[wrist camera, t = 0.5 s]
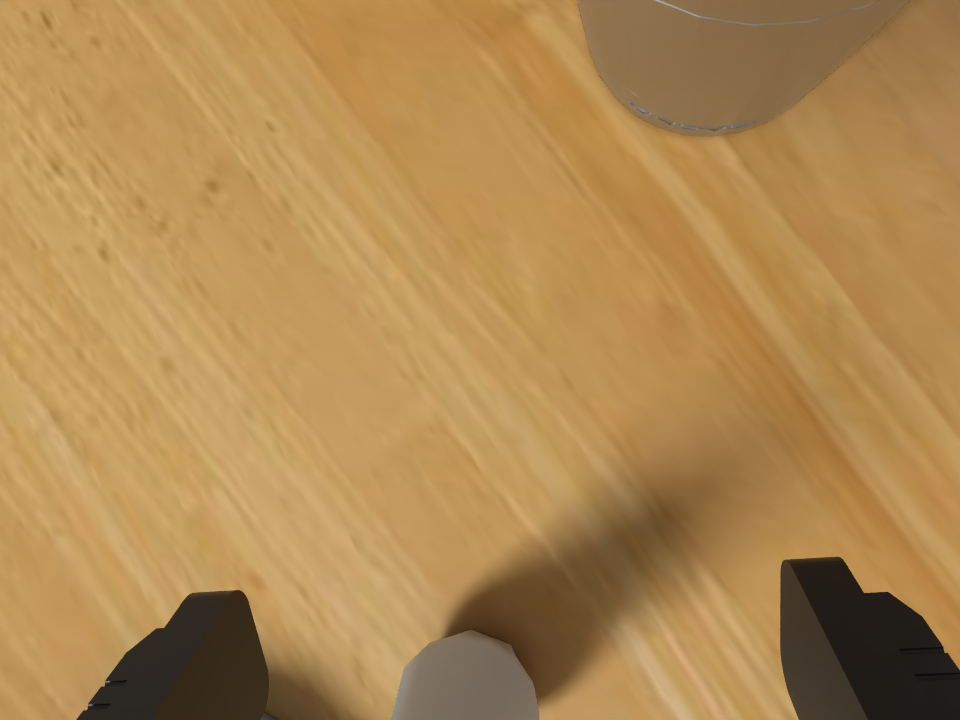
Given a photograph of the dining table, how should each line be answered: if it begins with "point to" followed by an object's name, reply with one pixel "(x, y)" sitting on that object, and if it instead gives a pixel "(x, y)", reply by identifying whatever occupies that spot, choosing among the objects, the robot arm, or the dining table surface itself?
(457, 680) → the salt shaker
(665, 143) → the dining table surface
